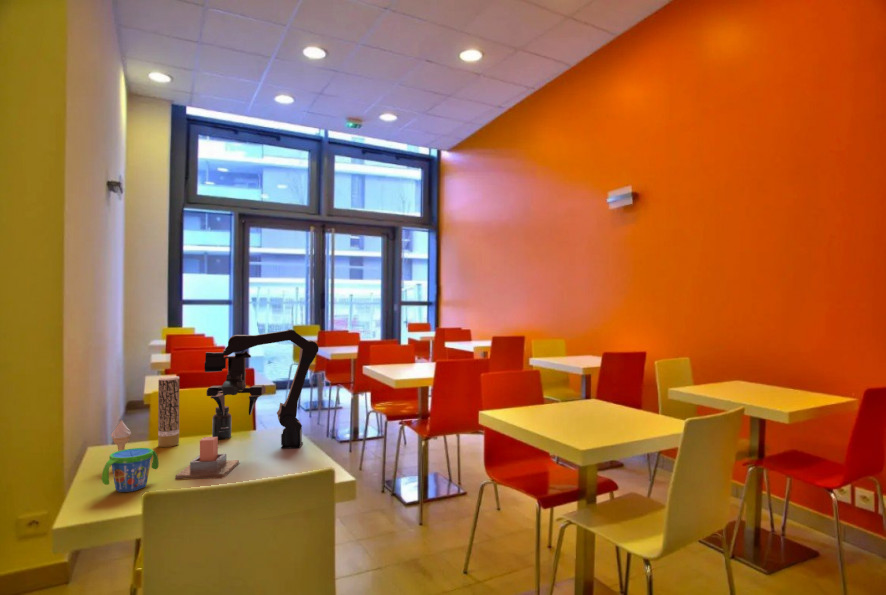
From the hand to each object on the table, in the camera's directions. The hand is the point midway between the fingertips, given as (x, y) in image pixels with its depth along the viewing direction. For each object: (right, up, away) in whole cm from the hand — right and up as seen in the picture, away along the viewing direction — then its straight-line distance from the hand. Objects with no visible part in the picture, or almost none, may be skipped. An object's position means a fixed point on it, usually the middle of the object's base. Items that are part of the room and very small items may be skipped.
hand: (236, 415), depth 179 cm
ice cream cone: (-31, -13, -15) cm, 37 cm away
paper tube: (-29, -13, +9) cm, 33 cm away
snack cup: (-15, -13, -35) cm, 41 cm away
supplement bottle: (-13, -14, +19) cm, 27 cm away
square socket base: (-1, -13, -20) cm, 24 cm away
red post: (-1, -12, -20) cm, 23 cm away
